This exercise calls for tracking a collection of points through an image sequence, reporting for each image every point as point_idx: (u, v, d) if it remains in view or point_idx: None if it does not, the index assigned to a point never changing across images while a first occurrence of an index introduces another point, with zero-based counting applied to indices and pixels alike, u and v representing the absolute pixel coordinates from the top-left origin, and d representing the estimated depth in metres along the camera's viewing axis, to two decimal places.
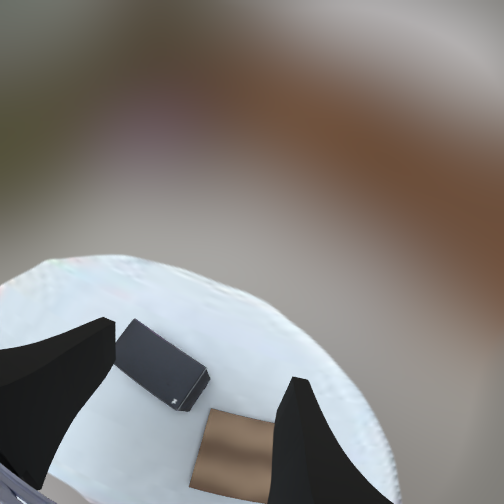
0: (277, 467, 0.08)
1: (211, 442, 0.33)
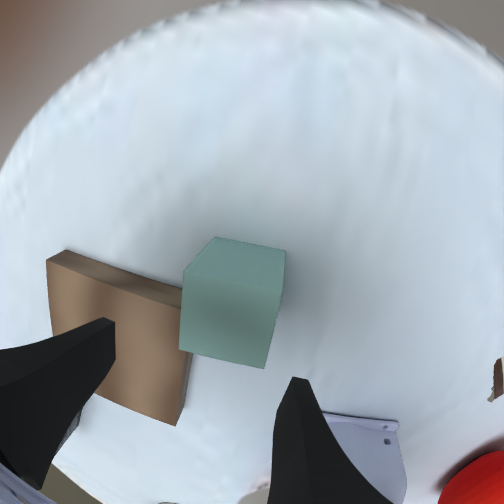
0: (277, 467, 0.08)
1: None
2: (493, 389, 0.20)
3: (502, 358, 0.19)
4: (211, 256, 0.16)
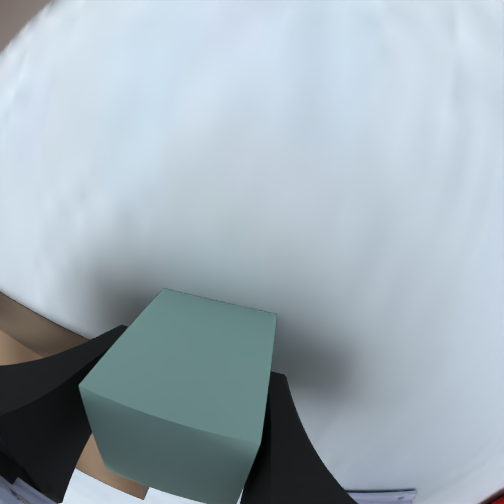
0: None
1: None
2: None
3: None
4: (141, 339, 0.08)
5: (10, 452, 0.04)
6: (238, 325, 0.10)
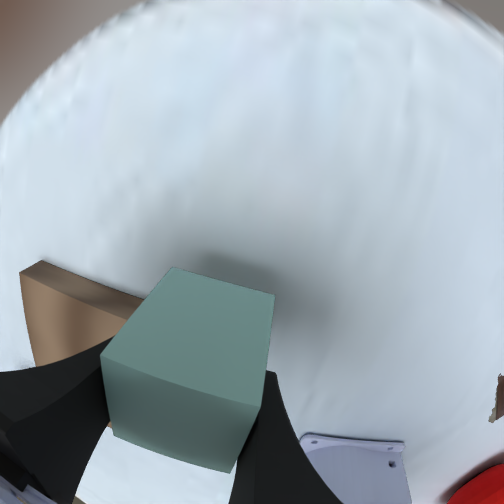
0: (240, 460, 0.08)
1: None
2: (495, 410, 0.18)
3: None
4: (154, 314, 0.10)
5: (20, 460, 0.04)
6: (240, 304, 0.11)
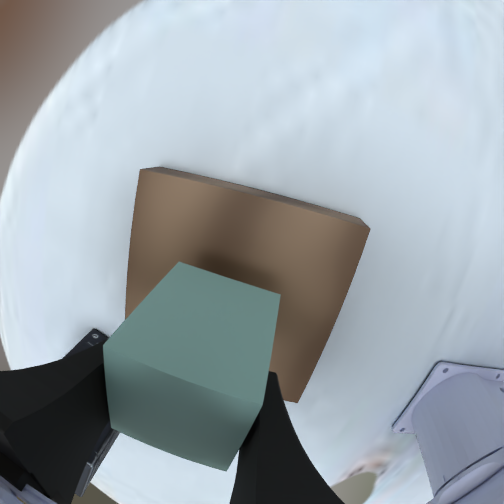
0: (241, 460, 0.08)
1: None
2: None
3: None
4: (159, 307, 0.10)
5: (19, 459, 0.04)
6: (246, 301, 0.11)
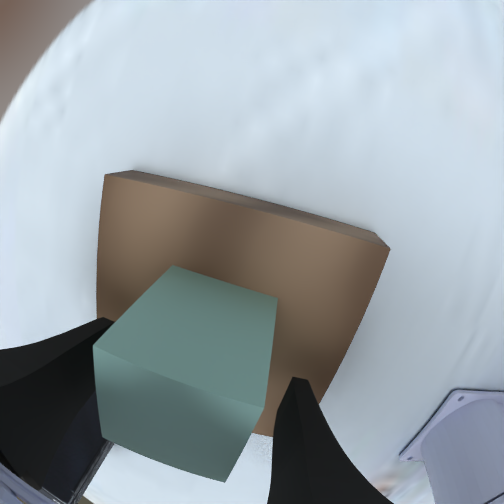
0: (277, 467, 0.08)
1: None
2: None
3: None
4: (152, 308, 0.09)
5: None
6: (242, 304, 0.11)
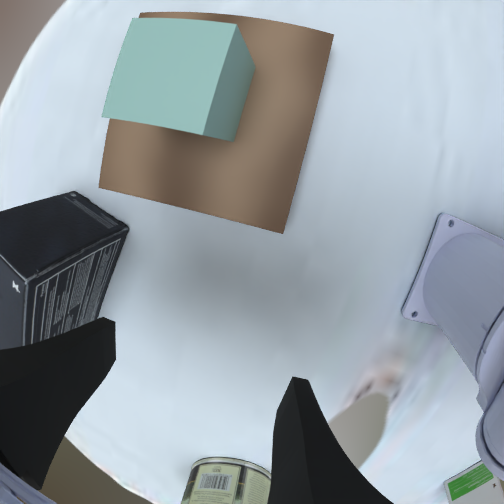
0: (277, 467, 0.08)
1: (163, 181, 0.17)
2: None
3: None
4: None
5: None
6: None
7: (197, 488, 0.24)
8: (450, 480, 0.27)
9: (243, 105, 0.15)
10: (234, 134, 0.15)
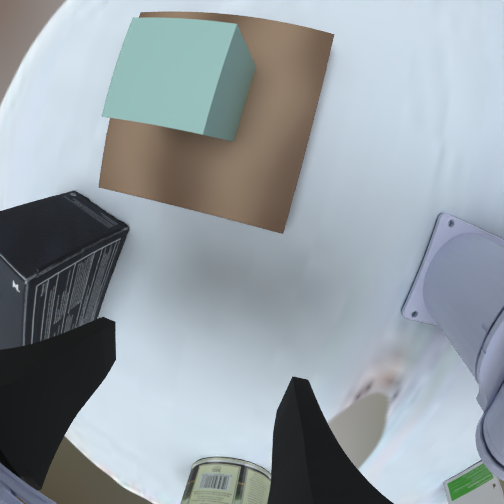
0: (277, 467, 0.08)
1: (163, 181, 0.17)
2: None
3: None
4: None
5: None
6: None
7: (197, 488, 0.24)
8: (450, 480, 0.27)
9: (243, 105, 0.15)
10: (234, 134, 0.15)
